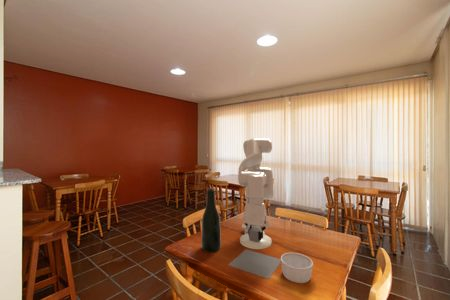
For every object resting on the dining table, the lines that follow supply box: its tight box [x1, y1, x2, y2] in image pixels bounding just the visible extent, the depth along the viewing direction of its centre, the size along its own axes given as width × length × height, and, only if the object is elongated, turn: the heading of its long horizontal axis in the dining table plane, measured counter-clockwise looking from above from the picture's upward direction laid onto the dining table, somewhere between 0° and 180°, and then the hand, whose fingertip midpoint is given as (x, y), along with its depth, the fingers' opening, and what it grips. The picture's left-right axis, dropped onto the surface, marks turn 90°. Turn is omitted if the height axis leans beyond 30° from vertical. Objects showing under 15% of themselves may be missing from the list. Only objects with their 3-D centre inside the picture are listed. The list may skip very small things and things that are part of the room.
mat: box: [228, 249, 281, 280], centre depth 103 cm, size 20×18×1 cm
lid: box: [239, 227, 273, 250], centre depth 103 cm, size 15×15×6 cm
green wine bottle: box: [201, 187, 222, 253], centre depth 118 cm, size 10×10×33 cm
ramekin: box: [280, 252, 314, 284], centre depth 92 cm, size 13×13×7 cm
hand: (255, 237), depth 103 cm, fingers closed on lid, 4 cm apart
